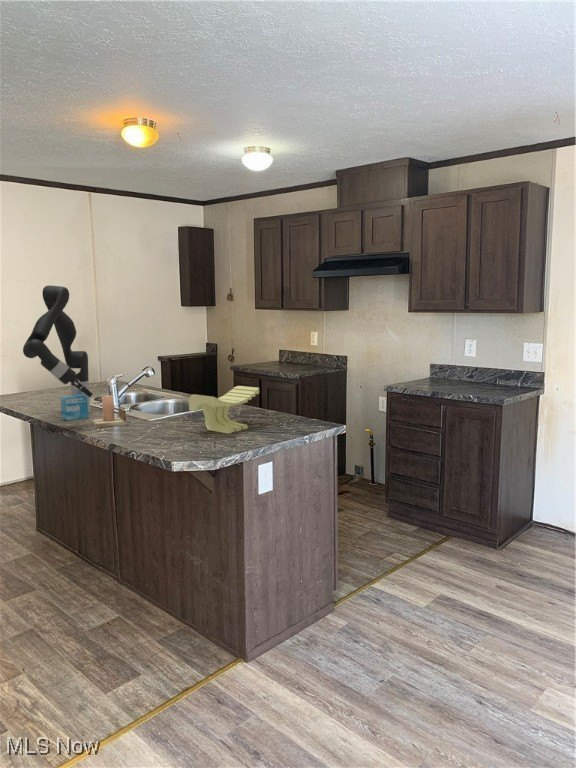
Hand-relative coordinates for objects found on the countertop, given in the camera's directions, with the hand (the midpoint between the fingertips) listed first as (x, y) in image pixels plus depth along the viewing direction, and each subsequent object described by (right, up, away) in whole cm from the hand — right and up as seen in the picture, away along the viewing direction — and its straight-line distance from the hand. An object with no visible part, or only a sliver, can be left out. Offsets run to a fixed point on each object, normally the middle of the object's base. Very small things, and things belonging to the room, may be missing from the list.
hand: (89, 394), depth 280 cm
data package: (-14, -13, +21) cm, 28 cm away
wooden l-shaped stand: (+8, -15, +6) cm, 17 cm away
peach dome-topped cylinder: (+7, -13, +6) cm, 16 cm away
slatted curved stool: (+66, -16, -8) cm, 68 cm away
